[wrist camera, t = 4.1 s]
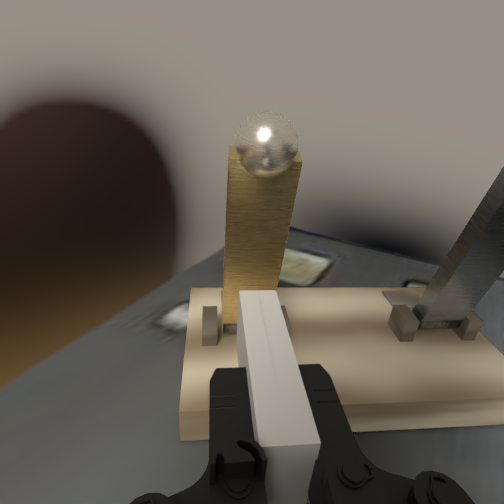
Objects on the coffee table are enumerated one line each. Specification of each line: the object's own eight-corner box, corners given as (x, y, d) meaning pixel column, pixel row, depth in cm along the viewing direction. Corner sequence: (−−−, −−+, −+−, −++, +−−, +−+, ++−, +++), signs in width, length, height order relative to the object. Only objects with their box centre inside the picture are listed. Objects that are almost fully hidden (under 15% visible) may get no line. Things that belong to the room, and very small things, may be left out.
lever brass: (269, 344, 24) (314, 129, 14) (221, 345, 23) (232, 125, 13) (264, 311, 26) (301, 103, 16) (221, 311, 25) (230, 98, 15)
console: (527, 423, 23) (558, 374, 21) (180, 440, 20) (177, 388, 18) (427, 309, 33) (441, 270, 31) (191, 311, 31) (190, 269, 29)
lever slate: (459, 340, 25) (627, 146, 15) (418, 341, 25) (561, 142, 15) (441, 309, 27) (578, 120, 17) (403, 309, 27) (519, 116, 17)
